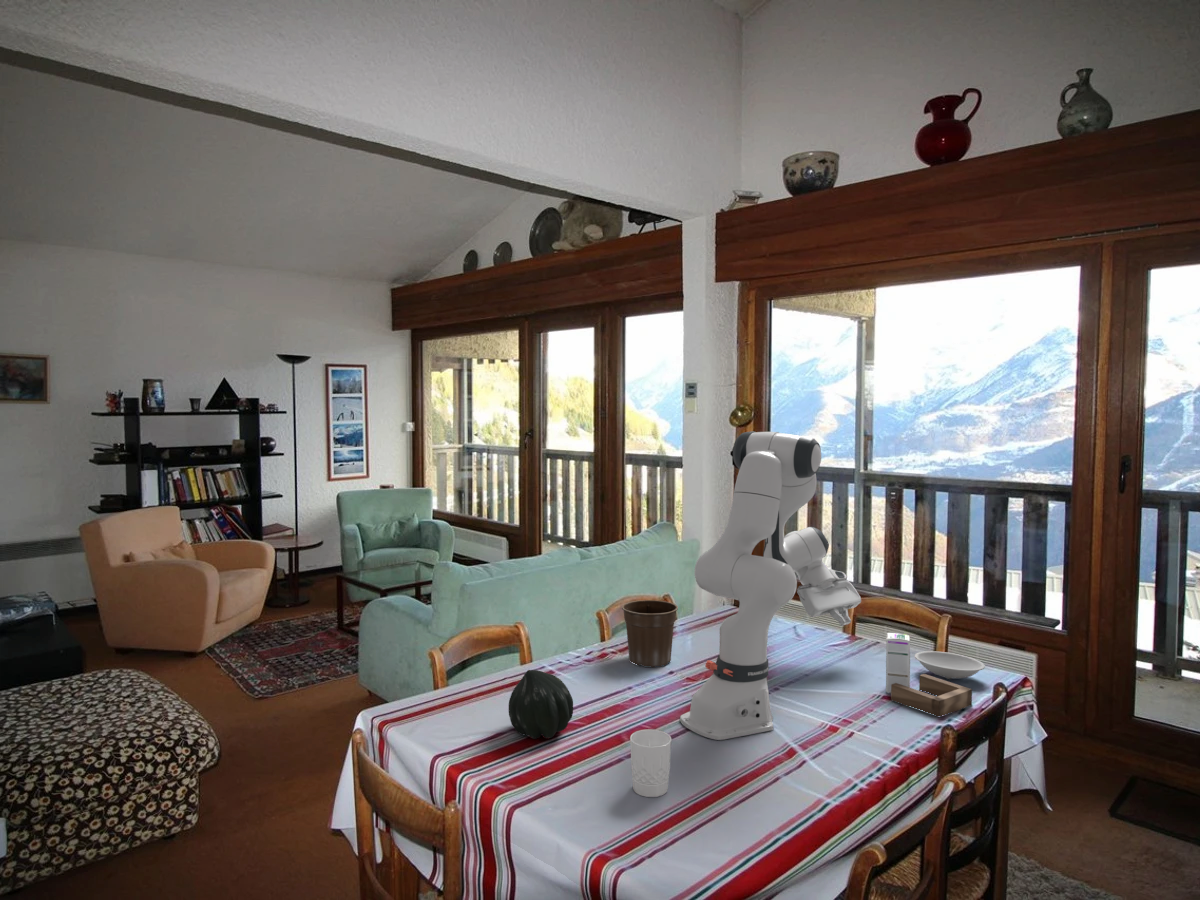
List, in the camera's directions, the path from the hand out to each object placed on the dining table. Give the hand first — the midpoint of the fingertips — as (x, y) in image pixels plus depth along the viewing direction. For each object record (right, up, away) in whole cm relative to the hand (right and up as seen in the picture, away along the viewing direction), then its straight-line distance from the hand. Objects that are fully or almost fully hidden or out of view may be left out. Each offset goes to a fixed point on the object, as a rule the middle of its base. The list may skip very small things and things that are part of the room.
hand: (846, 623), depth 208 cm
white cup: (-59, -17, -64) cm, 89 cm away
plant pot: (-54, -13, +10) cm, 57 cm away
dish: (+27, -14, -4) cm, 31 cm away
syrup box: (+9, -15, -13) cm, 21 cm away
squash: (-82, -16, -39) cm, 92 cm away
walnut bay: (+14, -15, -21) cm, 29 cm away
